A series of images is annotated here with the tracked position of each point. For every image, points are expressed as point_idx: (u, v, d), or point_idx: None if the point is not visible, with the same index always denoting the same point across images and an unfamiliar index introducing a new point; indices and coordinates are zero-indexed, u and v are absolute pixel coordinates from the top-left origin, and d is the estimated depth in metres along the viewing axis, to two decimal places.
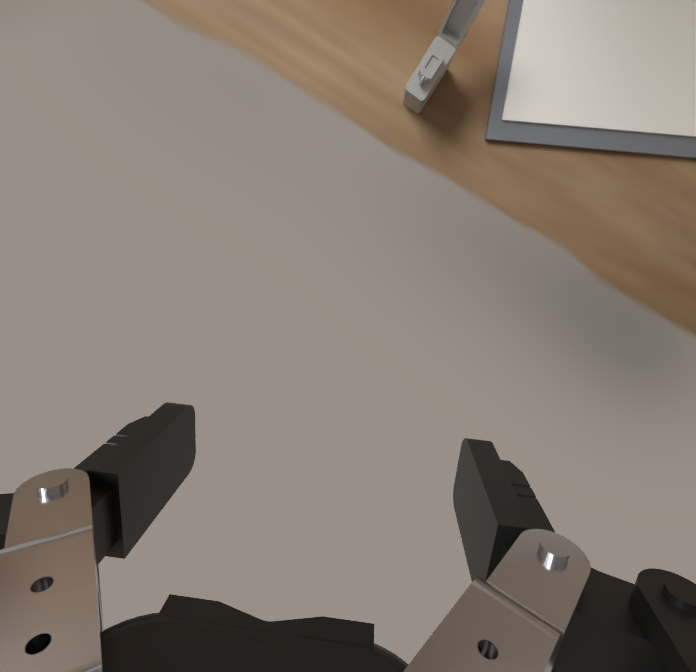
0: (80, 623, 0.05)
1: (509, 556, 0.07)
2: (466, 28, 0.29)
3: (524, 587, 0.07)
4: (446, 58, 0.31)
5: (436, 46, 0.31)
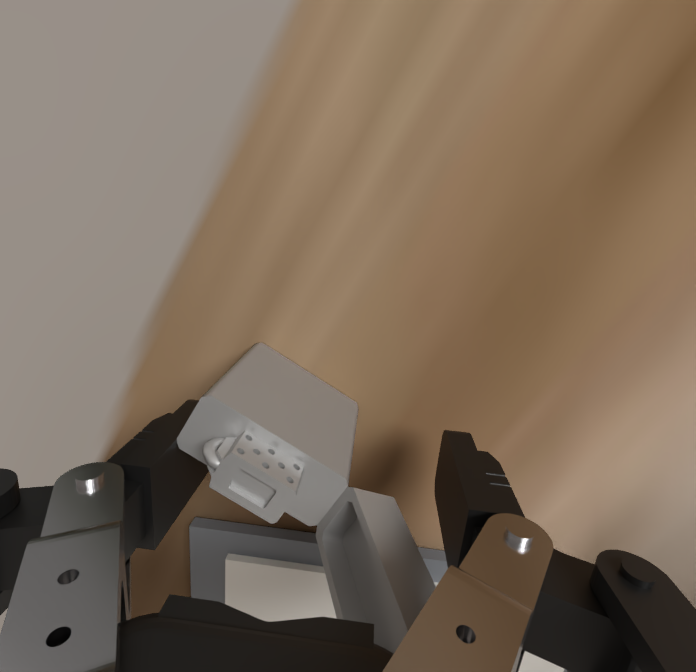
0: (99, 619, 0.05)
1: (476, 538, 0.08)
2: (334, 597, 0.09)
3: (487, 566, 0.07)
4: (290, 505, 0.10)
5: (320, 480, 0.10)
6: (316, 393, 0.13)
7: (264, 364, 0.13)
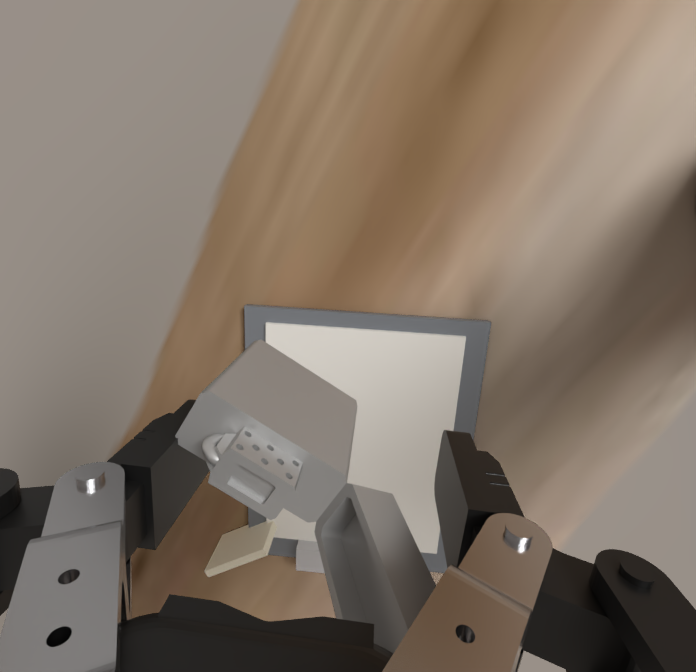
0: (100, 619, 0.05)
1: (475, 537, 0.08)
2: (333, 592, 0.09)
3: (487, 565, 0.07)
4: (289, 501, 0.10)
5: (319, 476, 0.10)
6: (315, 391, 0.13)
7: (263, 361, 0.13)
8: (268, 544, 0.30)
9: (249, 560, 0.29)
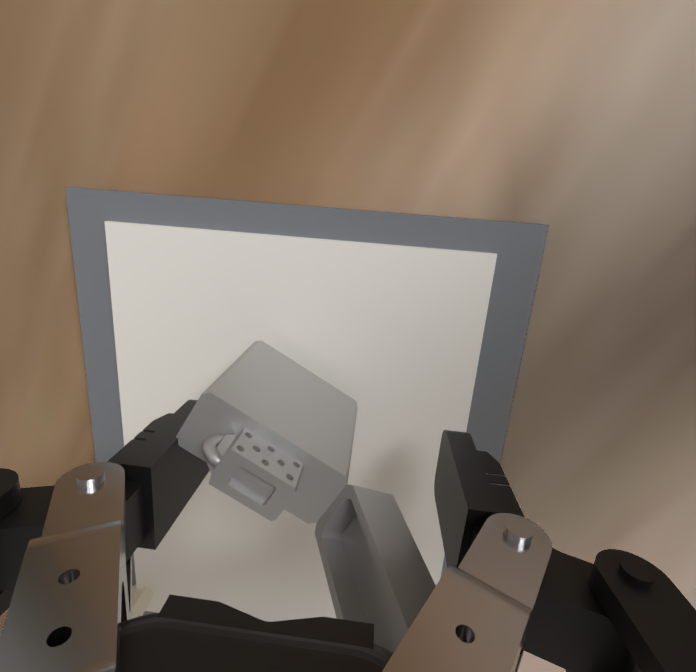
0: (100, 619, 0.05)
1: (475, 537, 0.08)
2: (333, 594, 0.09)
3: (486, 565, 0.07)
4: (290, 502, 0.10)
5: (319, 477, 0.10)
6: (316, 391, 0.13)
7: (264, 361, 0.13)
8: None
9: None
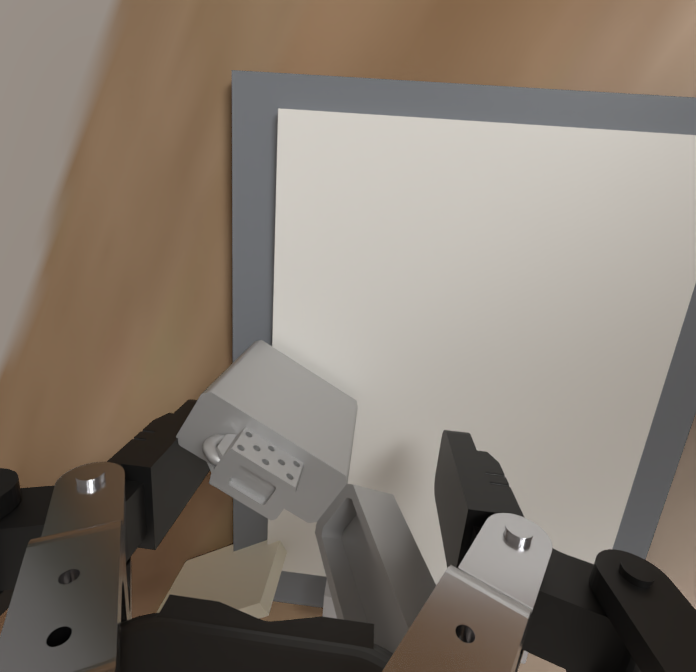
0: (100, 620, 0.05)
1: (475, 537, 0.08)
2: (334, 593, 0.09)
3: (486, 565, 0.07)
4: (290, 502, 0.10)
5: (320, 477, 0.10)
6: (316, 391, 0.13)
7: (264, 361, 0.13)
8: (271, 590, 0.15)
9: None
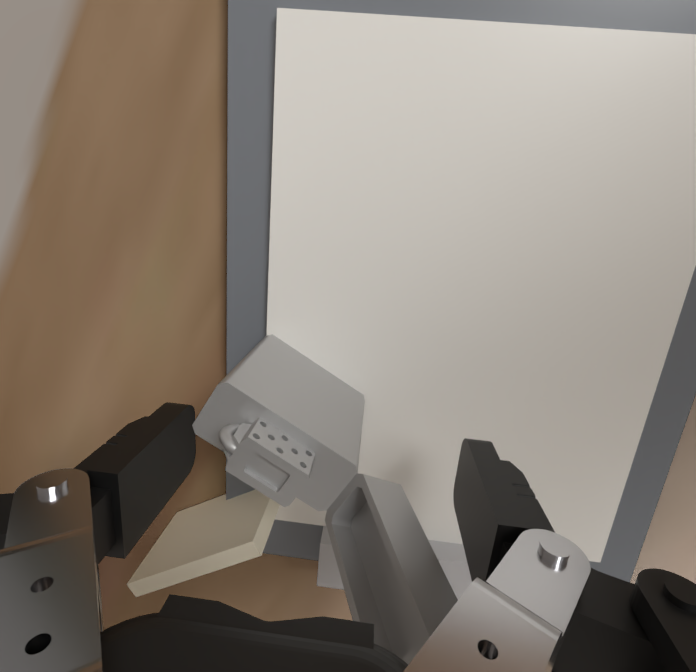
0: (80, 622, 0.05)
1: (509, 556, 0.07)
2: (344, 577, 0.10)
3: (524, 587, 0.07)
4: (301, 490, 0.11)
5: (331, 466, 0.11)
6: (325, 384, 0.13)
7: (275, 355, 0.13)
8: (264, 532, 0.14)
9: (222, 565, 0.14)
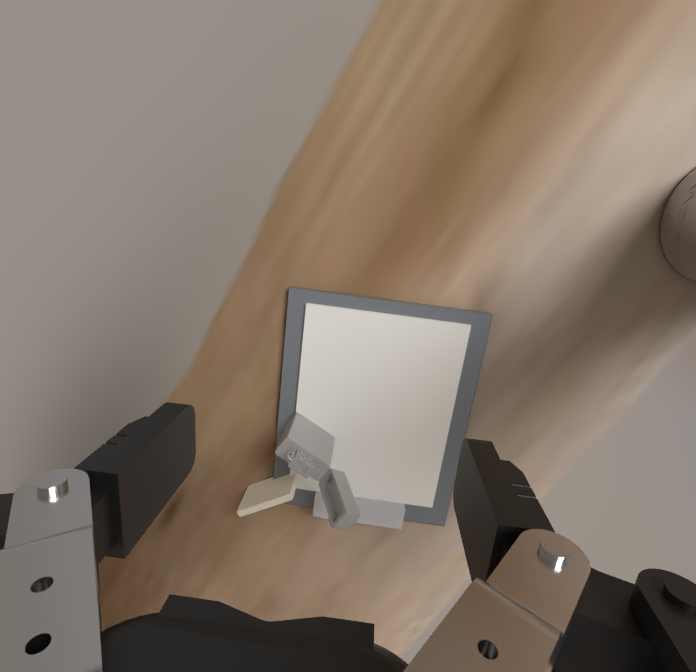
0: (80, 623, 0.05)
1: (509, 556, 0.07)
2: (324, 500, 0.31)
3: (524, 587, 0.07)
4: (310, 473, 0.32)
5: (321, 465, 0.32)
6: (319, 434, 0.35)
7: (300, 423, 0.34)
8: (293, 491, 0.35)
9: (276, 503, 0.35)
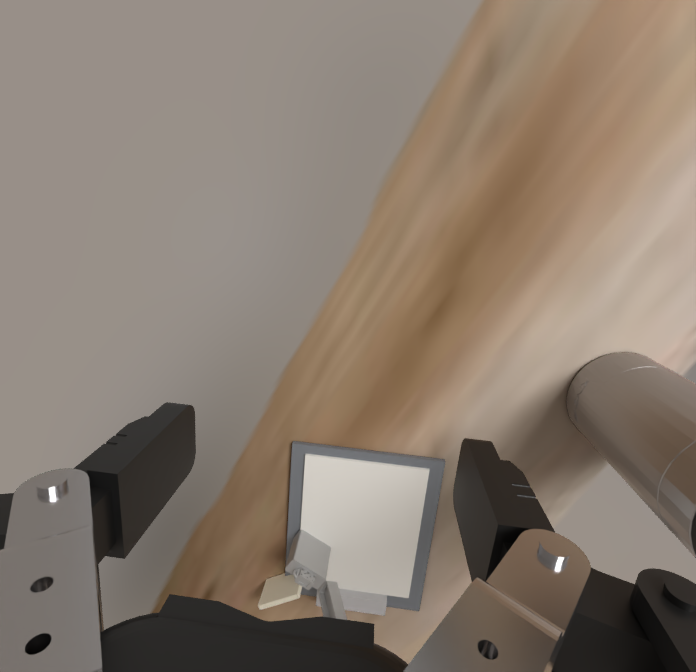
0: (80, 623, 0.05)
1: (509, 556, 0.07)
2: (322, 606, 0.42)
3: (524, 587, 0.07)
4: None
5: (319, 578, 0.43)
6: (318, 547, 0.46)
7: (303, 540, 0.45)
8: (300, 590, 0.46)
9: (287, 600, 0.46)
